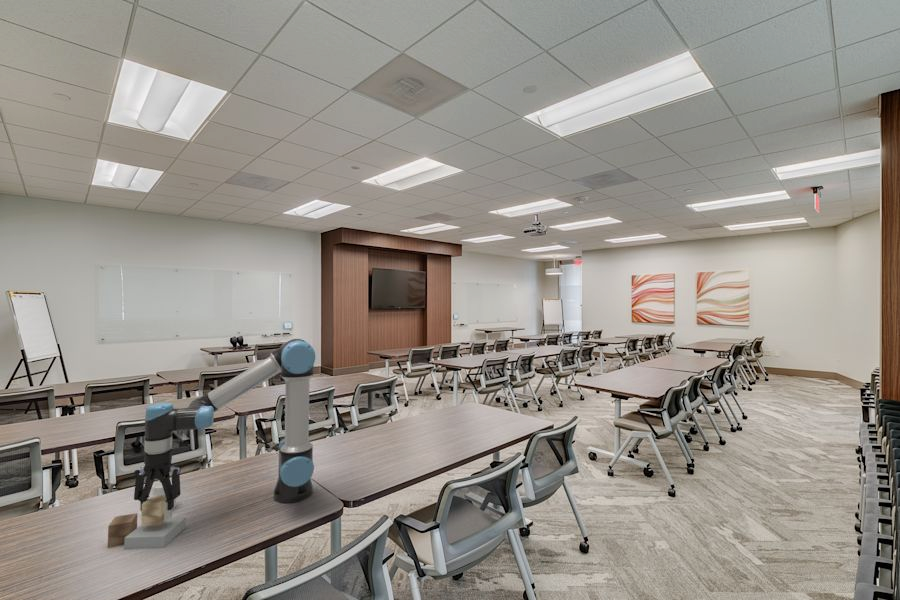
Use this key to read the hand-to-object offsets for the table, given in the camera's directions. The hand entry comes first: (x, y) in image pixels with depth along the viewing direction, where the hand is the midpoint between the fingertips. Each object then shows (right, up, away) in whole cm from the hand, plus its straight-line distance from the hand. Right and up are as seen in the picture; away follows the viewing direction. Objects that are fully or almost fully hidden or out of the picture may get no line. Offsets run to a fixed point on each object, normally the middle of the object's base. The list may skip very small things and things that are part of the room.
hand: (157, 519), depth 132 cm
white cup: (-11, -6, +18) cm, 22 cm away
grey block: (0, -6, 0) cm, 6 cm away
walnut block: (-10, -6, -2) cm, 12 cm away
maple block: (0, 0, 0) cm, 0 cm away
